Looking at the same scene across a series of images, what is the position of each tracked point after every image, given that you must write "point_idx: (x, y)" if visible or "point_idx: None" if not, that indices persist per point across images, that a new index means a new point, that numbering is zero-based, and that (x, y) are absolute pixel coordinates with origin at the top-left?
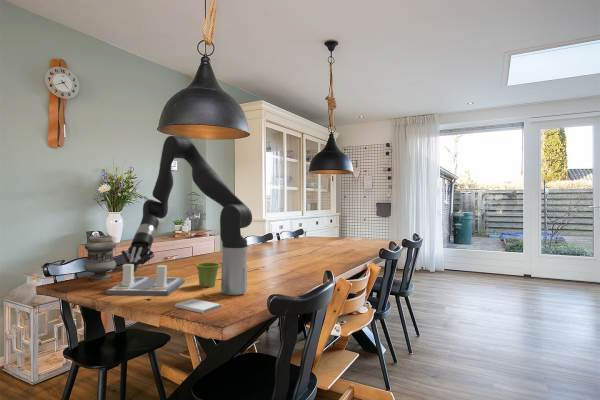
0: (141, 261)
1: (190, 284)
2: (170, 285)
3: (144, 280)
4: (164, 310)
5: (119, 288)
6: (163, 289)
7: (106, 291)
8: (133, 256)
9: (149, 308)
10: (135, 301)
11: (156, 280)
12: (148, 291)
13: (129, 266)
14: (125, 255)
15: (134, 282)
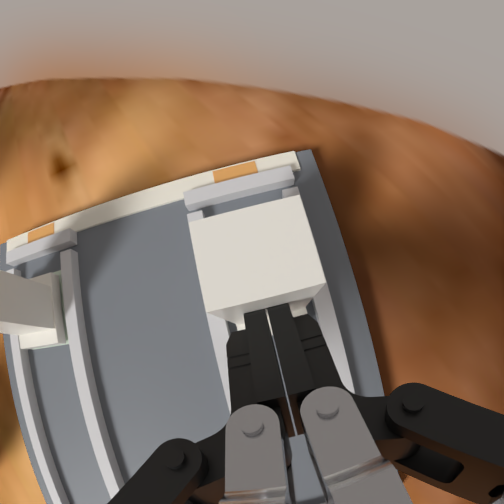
0: (169, 449)
1: (28, 485)
2: (15, 347)
3: None
4: (4, 107)
5: (244, 180)
6: (14, 251)
7: (307, 153)
8: (335, 483)
9: (37, 98)
10: (97, 125)
11: (30, 280)
12: (72, 217)
13: (214, 223)
14: (499, 445)
15: None
